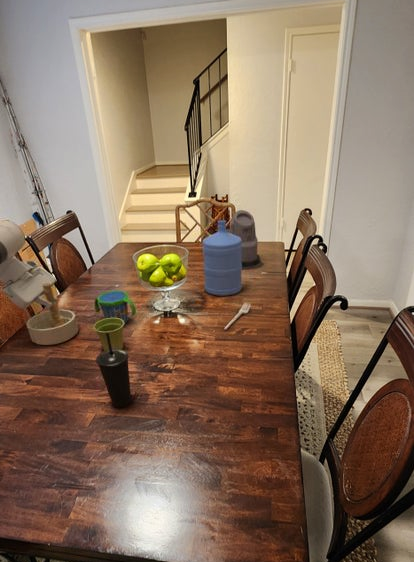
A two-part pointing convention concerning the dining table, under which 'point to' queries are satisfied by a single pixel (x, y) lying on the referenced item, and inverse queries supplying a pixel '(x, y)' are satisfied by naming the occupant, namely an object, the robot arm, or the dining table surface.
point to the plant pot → (110, 332)
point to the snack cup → (115, 305)
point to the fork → (239, 314)
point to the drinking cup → (115, 374)
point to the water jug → (222, 262)
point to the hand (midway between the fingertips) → (53, 303)
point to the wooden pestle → (53, 307)
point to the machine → (246, 238)
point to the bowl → (48, 335)
